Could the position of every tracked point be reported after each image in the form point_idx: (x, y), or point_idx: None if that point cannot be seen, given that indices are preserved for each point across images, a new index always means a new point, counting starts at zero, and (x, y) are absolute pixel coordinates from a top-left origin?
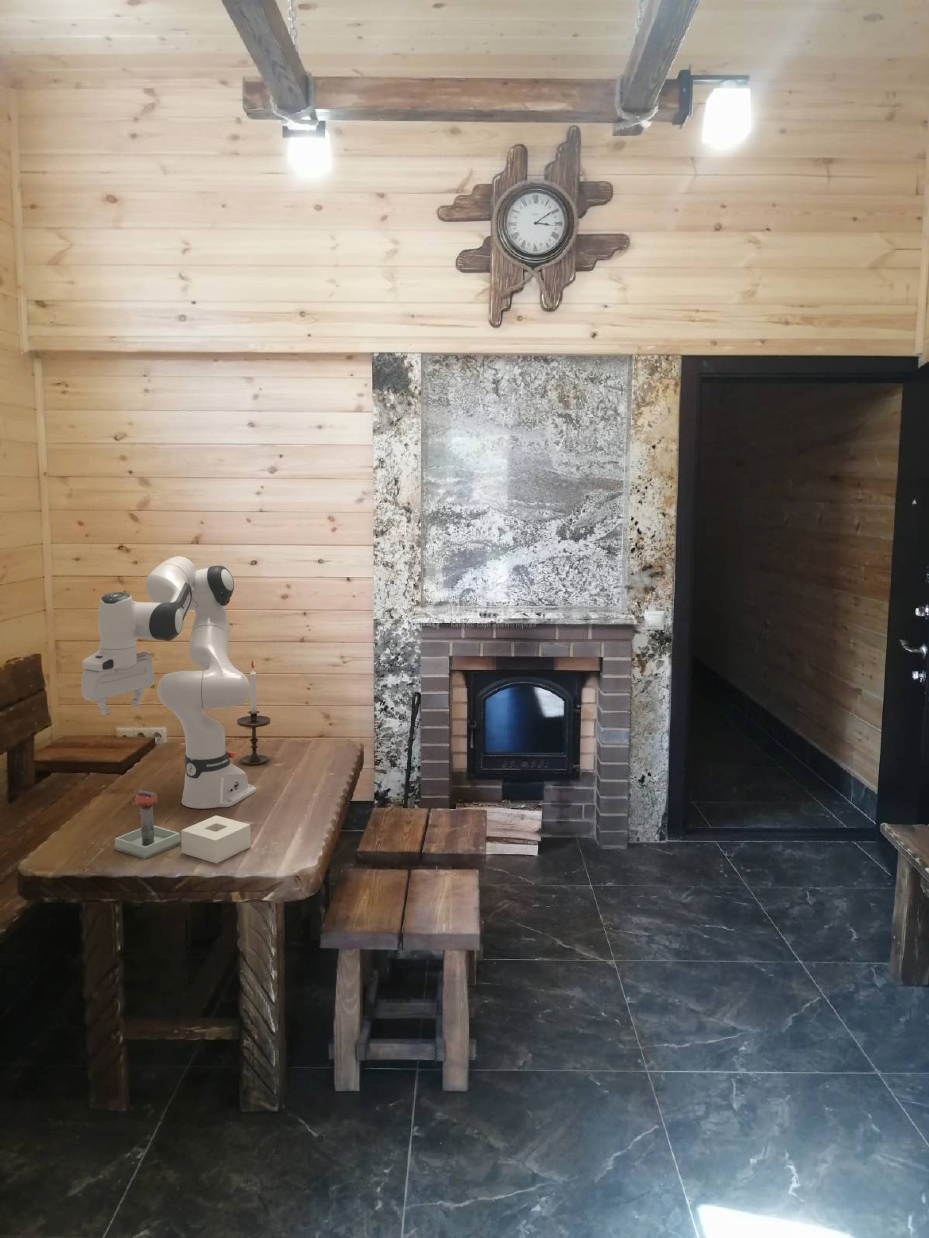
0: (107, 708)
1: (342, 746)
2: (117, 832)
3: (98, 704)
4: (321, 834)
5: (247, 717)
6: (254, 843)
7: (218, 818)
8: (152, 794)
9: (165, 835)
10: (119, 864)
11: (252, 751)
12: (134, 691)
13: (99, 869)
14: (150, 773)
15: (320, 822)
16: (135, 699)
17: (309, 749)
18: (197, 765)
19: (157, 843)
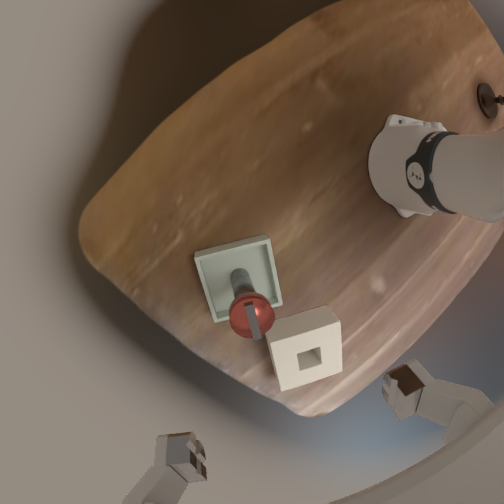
0: (190, 481)
1: None
2: (230, 183)
3: (139, 491)
4: (392, 359)
5: None
6: None
7: (334, 333)
8: (257, 339)
9: (271, 275)
10: (177, 305)
11: (495, 99)
12: (455, 417)
13: (149, 302)
14: (389, 8)
15: (415, 332)
16: (417, 402)
17: None
18: (425, 193)
19: None
